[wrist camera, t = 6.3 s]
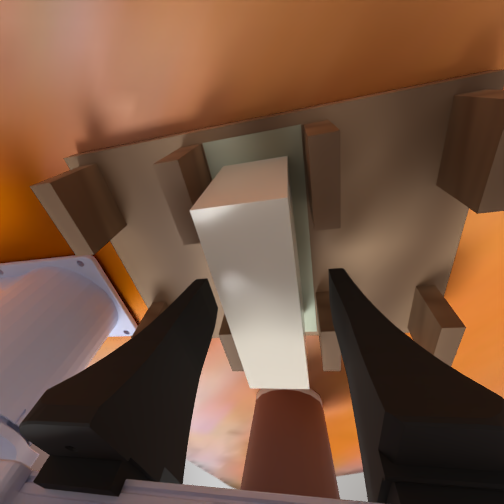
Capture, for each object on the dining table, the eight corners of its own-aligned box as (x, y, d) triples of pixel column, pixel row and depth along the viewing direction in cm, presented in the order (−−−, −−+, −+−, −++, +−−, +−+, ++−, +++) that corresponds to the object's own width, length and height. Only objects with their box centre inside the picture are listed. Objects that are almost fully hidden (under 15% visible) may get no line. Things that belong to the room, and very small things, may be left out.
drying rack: (170, 329, 21) (148, 375, 18) (77, 153, 14) (9, 176, 10) (426, 319, 17) (459, 376, 14) (489, 70, 10) (593, 64, 7)
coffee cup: (352, 387, 23) (403, 626, 13) (317, 429, 28) (333, 623, 18) (253, 364, 22) (226, 588, 13) (235, 411, 28) (206, 596, 18)
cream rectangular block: (259, 315, 17) (250, 388, 13) (223, 166, 12) (189, 210, 8) (303, 313, 17) (309, 389, 12) (287, 155, 11) (287, 197, 7)
